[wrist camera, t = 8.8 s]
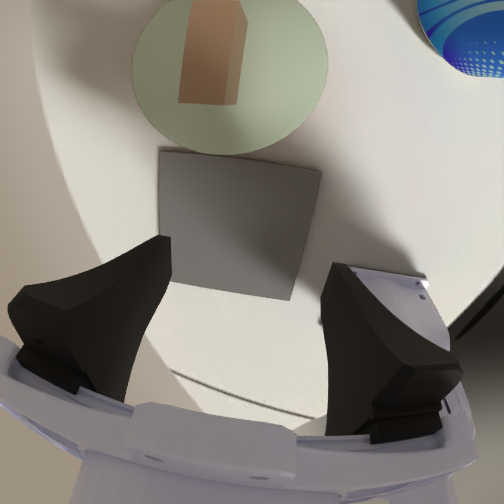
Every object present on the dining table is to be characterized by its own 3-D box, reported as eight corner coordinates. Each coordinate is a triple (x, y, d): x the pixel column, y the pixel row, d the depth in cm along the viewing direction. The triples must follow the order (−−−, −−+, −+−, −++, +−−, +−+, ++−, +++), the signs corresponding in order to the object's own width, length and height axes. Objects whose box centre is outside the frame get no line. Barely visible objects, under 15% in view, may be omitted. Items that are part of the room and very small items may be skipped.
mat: (320, 171, 19) (321, 173, 19) (289, 297, 25) (289, 300, 25) (162, 150, 19) (159, 151, 19) (164, 276, 26) (162, 279, 25)
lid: (336, -4, 9) (353, -31, 6) (309, 166, 15) (318, 188, 12) (149, -11, 9) (116, -31, 6) (131, 147, 15) (94, 164, 12)
